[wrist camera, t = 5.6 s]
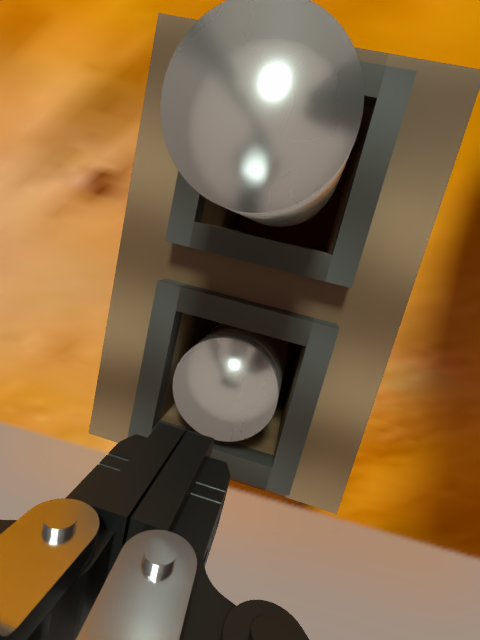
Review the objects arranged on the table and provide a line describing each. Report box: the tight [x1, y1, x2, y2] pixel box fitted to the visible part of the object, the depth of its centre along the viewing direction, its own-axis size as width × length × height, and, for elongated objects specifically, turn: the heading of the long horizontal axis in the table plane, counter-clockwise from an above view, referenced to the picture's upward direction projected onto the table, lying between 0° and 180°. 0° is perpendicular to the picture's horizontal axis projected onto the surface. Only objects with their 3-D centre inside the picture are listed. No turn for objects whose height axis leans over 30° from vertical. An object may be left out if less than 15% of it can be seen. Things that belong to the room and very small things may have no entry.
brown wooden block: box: [89, 13, 480, 514], centre depth 19 cm, size 18×12×8 cm, turn 166°
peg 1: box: [161, 0, 364, 227], centre depth 12 cm, size 4×4×7 cm
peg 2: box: [173, 323, 288, 442], centre depth 19 cm, size 4×4×7 cm
